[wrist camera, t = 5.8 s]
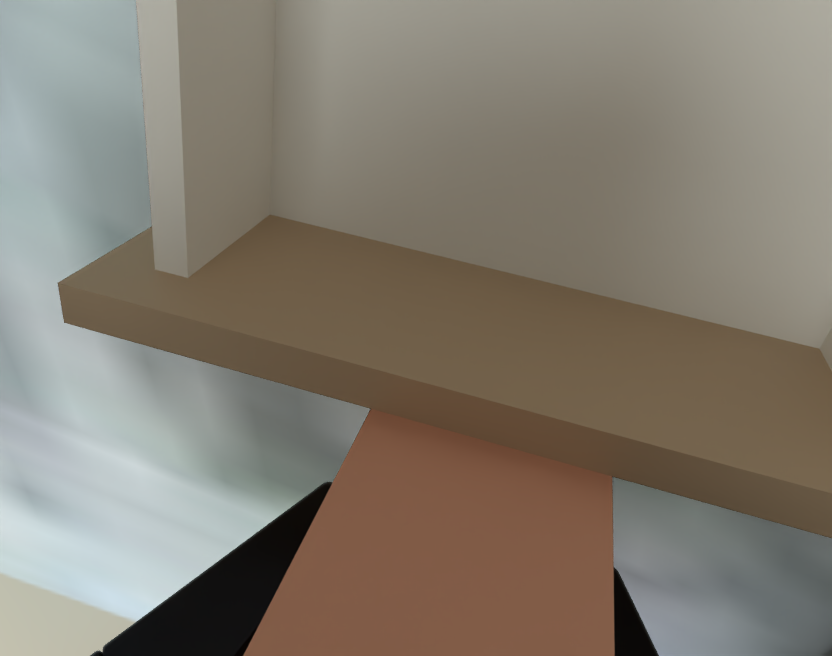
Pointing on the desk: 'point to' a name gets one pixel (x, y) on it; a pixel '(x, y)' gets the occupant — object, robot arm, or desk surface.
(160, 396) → the desk surface
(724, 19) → the tray
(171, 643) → the robot arm
